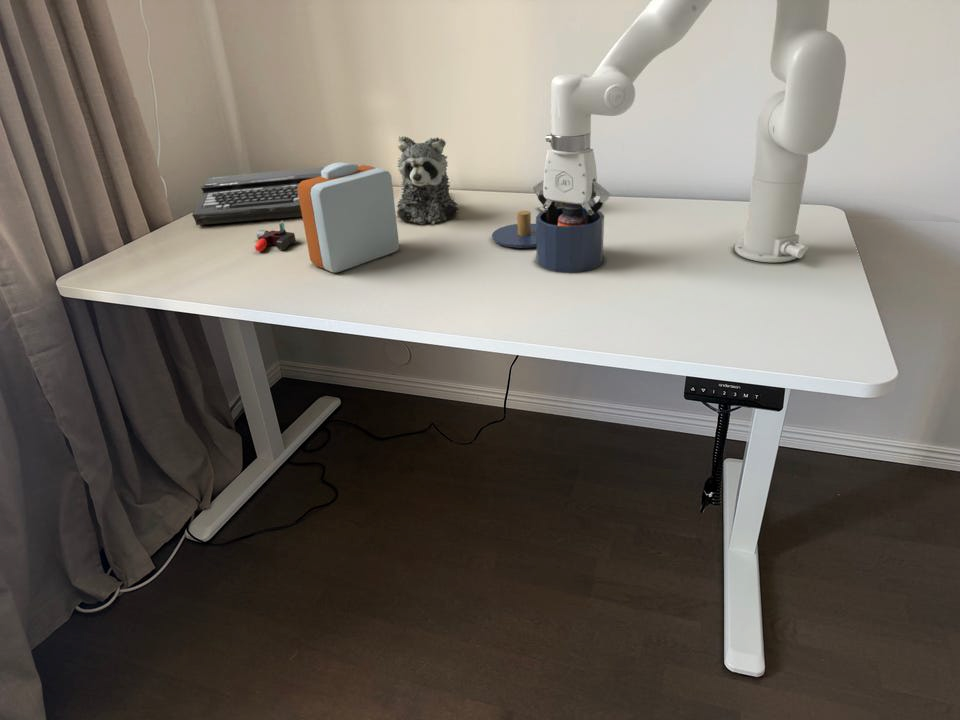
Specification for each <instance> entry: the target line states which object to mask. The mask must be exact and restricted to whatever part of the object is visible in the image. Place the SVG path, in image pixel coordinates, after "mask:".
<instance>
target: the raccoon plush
mask: <svg viewBox="0 0 960 720" xmlns="http://www.w3.org/2000/svg"><path fill="white" fill-rule="evenodd" d="M446 145H447V142H446V140H445V139H443V138H439V136H436V137H433V138H432V137H430V138H429V139H427V140H425V142H415V140H413V139H412V138H410V137H408V136H398V144H397V148H398V149H399V151H400V152H401V154H400V157H398V160H397V163H396V164H397V168H398V170H397V171H398V172H399V174H400V175H401V179H402V181H401V186H402V188H401V194H400V195H401V196H400V197H401V198H400V199H398V201H397V206H396V207H397V210H396V214H397V215H396V216H397V217H398V218H399V219H400V220H401V221H402V222H405V223H407V222H408V223H414V224H416V225H421V226H422V225H425V224H426V223H427V224H432V225H435V224H436V223H442V222H443V221H446V220H452V219H454V218H456V214H457V212H458V211H459V208H458V205H459V204H458V203H457V202H456V201H455V200H454V199H452V196H451V195H450V187H451V185H450V184H451V182H449V180H450V178H449V175H448V174H447V170H448V169H447V167H448V165H449V163H448V162H449V161H447V159H448V155H445V154H443V153H444V148H445V146H446Z"/></svg>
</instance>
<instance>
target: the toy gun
mask: <svg viewBox="0 0 960 720" xmlns="http://www.w3.org/2000/svg"><path fill="white" fill-rule="evenodd" d="M278 224H279V230H274V229H273V230H270V231H269V230H267V229H266V230H264V229H259V230H258V231H257V232H256V238H257V240H258V241H257V242H256V243H255V245H254V249H255V251H257V252H259V253H261V252H264V250H265V248H266V247H269V246H270V245H274V246H275V245H276V248H277V249H278V250H283V251H284V250H286V249H287V248H288V247H289V246H291V245H292V244H296V243H297V241H296V235H295V233H294V232H291V231H286V229H285V228H286V227H285V223H284V220H281V221H280V222H279V223H278Z"/></svg>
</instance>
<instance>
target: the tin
mask: <svg viewBox="0 0 960 720" xmlns="http://www.w3.org/2000/svg"><path fill="white" fill-rule="evenodd" d="M582 210H583V212H582V213H583V214H584V215H586V214H587V211H586V209H585V208H584V206H583V208H582ZM562 214H563V207H557V225H552V224H548V223H546V210H545V211H540V212H539V213H537V215H536V216H535V224H536V246H535V248H536V249H535V250H536V253H535V255H536V262H537V265H539V266H540V267H541V268H543V269H545V270H548V271H551V272H557V273H580V272H587V271H590V270H593V269H595V268H598V267H599V266H600V265H601V264H602V263H603V257H604V236H605V234H604V233H605V215H604V214H603V212H602V211H600V210H598V211H597V212H596V221H595V222H593V223H590V224H586V225H580V226H558V218H559V216H560V215H562Z"/></svg>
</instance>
